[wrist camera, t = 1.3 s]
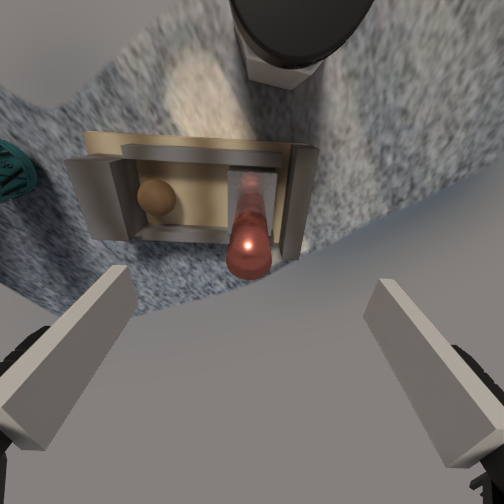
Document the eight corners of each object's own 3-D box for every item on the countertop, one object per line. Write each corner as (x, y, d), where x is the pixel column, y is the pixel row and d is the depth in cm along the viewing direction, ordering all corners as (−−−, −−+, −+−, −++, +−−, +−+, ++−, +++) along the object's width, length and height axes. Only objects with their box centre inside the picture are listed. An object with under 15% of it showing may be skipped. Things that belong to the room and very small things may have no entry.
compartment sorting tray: (120, 228, 31) (88, 254, 25) (93, 131, 25) (43, 134, 19) (291, 237, 32) (300, 264, 26) (306, 143, 26) (322, 150, 19)
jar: (277, 111, 24) (296, 104, 14) (217, 44, 21) (182, -28, 11) (346, 25, 21) (440, -71, 10) (284, -68, 18) (328, -328, 7)
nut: (149, 208, 27) (134, 220, 24) (143, 174, 25) (126, 183, 22) (182, 209, 28) (172, 222, 24) (178, 176, 26) (167, 185, 22)
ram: (230, 223, 28) (212, 300, 16) (230, 165, 25) (208, 208, 13) (269, 225, 28) (280, 303, 16) (274, 168, 25) (295, 212, 13)
